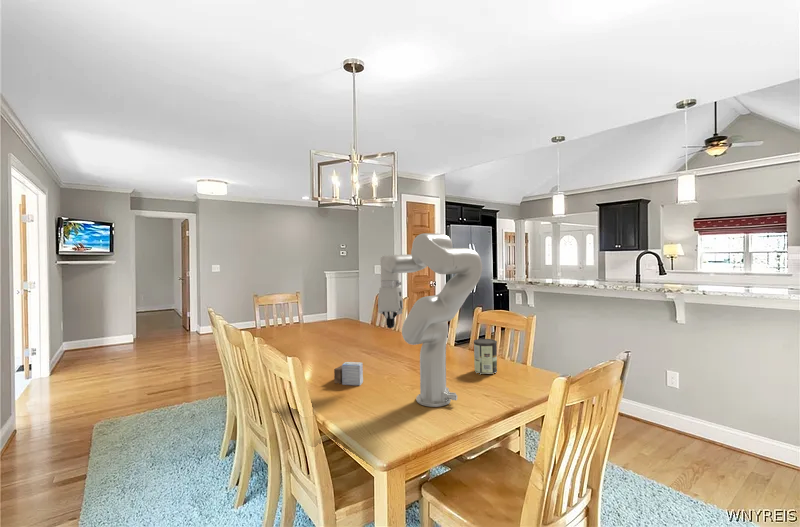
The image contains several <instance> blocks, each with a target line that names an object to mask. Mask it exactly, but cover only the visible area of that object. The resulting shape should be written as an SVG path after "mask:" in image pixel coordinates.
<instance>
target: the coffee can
mask: <svg viewBox="0 0 800 527" xmlns="http://www.w3.org/2000/svg"><path fill="white" fill-rule="evenodd" d="M497 342H498V341H497V340H496V339H491V338H477V339H474V340H473V350H474V351H473V356H474V358H473V359H474V367H473V368H474V370H475V372H476V373H475V372H474V373H475V374H477V373H480V374H479V375H481V374H493V373H496V372H497V373H498V357H497V355H498V354H497V349H498V348H497V346H498V345H497ZM497 373H496V374H497ZM493 375H494V374H493Z"/></svg>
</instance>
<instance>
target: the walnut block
mask: <svg viewBox="0 0 800 527" xmlns="http://www.w3.org/2000/svg"><path fill="white" fill-rule="evenodd" d="M333 372H334V374H333V376H334V384H337V383H339V385H342V365H339V366H338V367H336V368H334V370H333Z"/></svg>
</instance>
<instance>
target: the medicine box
mask: <svg viewBox="0 0 800 527" xmlns="http://www.w3.org/2000/svg"><path fill="white" fill-rule="evenodd" d="M363 365H364V364H363V362H360V361H359V362H357V361H345V362H344V363H342V365H341V366H342V383H341V385H343V386H345V385H346V386H359V387H360V386H361V385H362V384H363V383H364V376H363V375H364V369H363V367H364V366H363Z"/></svg>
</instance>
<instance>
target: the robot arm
mask: <svg viewBox="0 0 800 527" xmlns="http://www.w3.org/2000/svg"><path fill="white" fill-rule="evenodd" d="M411 246H412V247H411V250H410V251H411V252H410V254H393V255H392V254H391V255H390V254H389V255H382V256H381V257H380V259H379V260H380V287H379V289H378V297H377V308H378V313H379V314H381V315H383V316H384V318H385V319H386V328H387V329H393V328H394V327H395V318H396V317H398V315H401V314H403V309H404V300H403V293H402V288H401V287H400V286H402V281H400V280H399V274H406V273H409V274H411V273H412V274H413V273H416V272H418V271H422V270H425V269H426V268H427V267H428V268H429V269H430V270H431V271H433V272H434V273H436V274H439V275H453V276H452V277H451V278H450V279H449V280H448V281H447V282H446V283H445V284H444V286H443V288H442V289H441V291H440V292H439V293H438V294H435V295H427V296H423V297H420V298H419V299H418V300H416V301H415V302H414V304H413V306H412V307H411V309H410V311H409V313H408V315H407V316H406V318H405V320H404V322H403V323H402V324H403V325H402V329H401V334H402V338H403V341H405V342H406V343H407V344H408V345H411V346H412V345H413V346H414V345H421V348H420V351H419V375H420V376H419V377H420V378H419V381H420V382H419V384H420V385H419V387H420V388H419V389H420V394H419V393H418V395H417V396H416V397H415V398H416V402H417V404H419V405H421V406H424V407H431V408H439V407H444V406H446V405H449V404H450V403H451V401H457V400H458V394H457V392H453V391H452V392H451V391H450V390H449V387H447V340H448V335H449V324H448V322H450V321H452V320H453V319H455V317H456V315H457V314H458V312H460V311H459V310H460V309H461V308H462V306H463V304H464V303H465V301H466V299H467V298H468V297H469V295H470V294H471V293H472V292H473V290H474V289H475V288H476V286H477V285H478V284H479V281H480V278H481V276H482V273H483V262H482V258H481V256H480V254H479V253H478V252H477V251H475V250H474V249H471V248H466V247H455V248H454V247H453V242H452V239H451V238H450V237H449V236H448V235H446V234H443V233H420V234H418V235H417V236H415V237H414V239H413V241H412V245H411Z"/></svg>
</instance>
